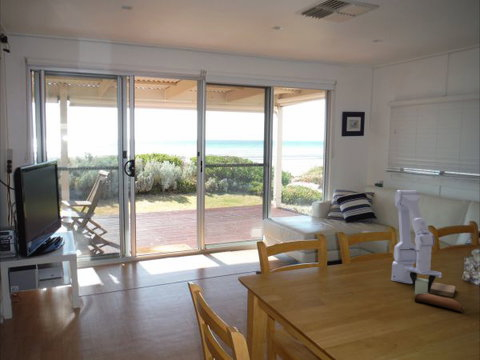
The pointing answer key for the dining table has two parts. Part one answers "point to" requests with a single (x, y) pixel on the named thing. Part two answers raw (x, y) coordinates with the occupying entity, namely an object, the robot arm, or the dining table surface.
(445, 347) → the dining table surface
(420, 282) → the green block
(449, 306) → the sunglasses case
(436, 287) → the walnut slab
